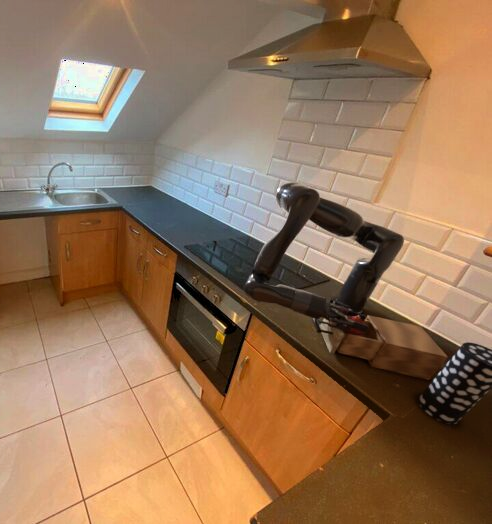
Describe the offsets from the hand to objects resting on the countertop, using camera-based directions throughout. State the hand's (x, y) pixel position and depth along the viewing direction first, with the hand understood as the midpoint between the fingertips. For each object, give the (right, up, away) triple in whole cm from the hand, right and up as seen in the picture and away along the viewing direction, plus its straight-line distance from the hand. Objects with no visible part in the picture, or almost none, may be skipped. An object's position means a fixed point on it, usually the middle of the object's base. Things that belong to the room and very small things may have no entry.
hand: (365, 323), depth 92 cm
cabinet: (+10, -11, +4) cm, 16 cm away
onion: (-3, -5, +4) cm, 7 cm away
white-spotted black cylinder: (+10, -20, -12) cm, 26 cm away
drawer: (-4, -8, +6) cm, 10 cm away
